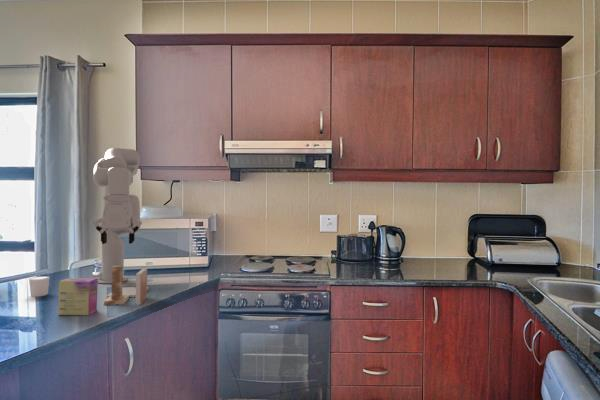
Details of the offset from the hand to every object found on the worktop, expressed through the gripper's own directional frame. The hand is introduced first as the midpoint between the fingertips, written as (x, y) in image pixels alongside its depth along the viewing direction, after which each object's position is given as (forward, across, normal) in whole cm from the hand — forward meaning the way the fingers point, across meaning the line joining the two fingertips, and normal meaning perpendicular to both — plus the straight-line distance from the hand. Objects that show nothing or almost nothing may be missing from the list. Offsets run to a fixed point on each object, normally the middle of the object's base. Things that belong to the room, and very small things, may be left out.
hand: (117, 243), depth 137 cm
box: (+23, -9, -11) cm, 28 cm away
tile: (+23, +9, +1) cm, 25 cm away
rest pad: (+23, +1, +13) cm, 26 cm away
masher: (+23, 0, +1) cm, 23 cm away
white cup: (+23, -34, +15) cm, 44 cm away
